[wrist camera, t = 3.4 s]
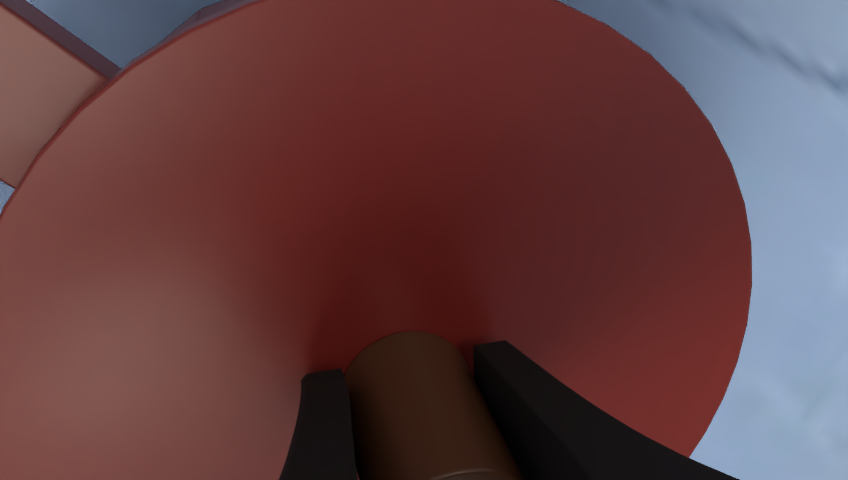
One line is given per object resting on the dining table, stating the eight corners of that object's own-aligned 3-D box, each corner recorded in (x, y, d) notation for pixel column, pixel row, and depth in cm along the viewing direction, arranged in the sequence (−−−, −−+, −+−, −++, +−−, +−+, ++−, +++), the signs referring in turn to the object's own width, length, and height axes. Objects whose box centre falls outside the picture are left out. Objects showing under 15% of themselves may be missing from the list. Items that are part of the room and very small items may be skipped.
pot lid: (415, 675, 19) (466, 892, 15) (-188, 450, 13) (-390, 725, 8) (835, 277, 17) (1036, 407, 12) (352, -264, 10) (438, -366, 6)
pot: (440, 546, 24) (492, 706, 19) (-175, 241, 16) (-348, 394, 11) (740, 252, 22) (881, 353, 17) (204, -296, 13) (192, -394, 9)
